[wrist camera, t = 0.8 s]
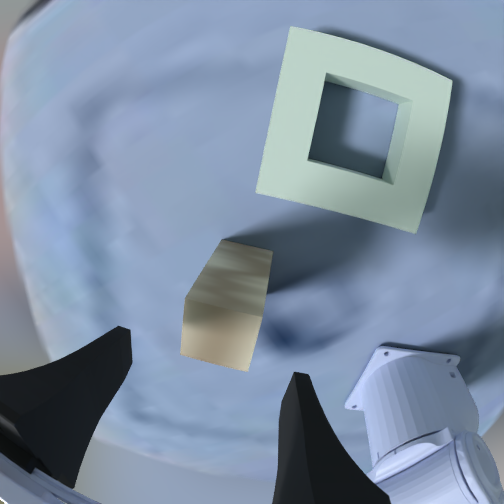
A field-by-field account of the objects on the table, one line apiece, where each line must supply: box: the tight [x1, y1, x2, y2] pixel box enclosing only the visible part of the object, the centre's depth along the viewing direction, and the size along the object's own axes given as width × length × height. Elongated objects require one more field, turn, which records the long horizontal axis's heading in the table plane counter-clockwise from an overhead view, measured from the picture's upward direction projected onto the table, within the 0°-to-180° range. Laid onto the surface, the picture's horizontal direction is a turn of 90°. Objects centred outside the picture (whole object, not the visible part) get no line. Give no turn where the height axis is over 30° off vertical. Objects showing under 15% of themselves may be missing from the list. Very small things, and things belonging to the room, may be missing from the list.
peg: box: [180, 240, 273, 372], centre depth 18 cm, size 4×4×8 cm
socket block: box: [255, 26, 452, 234], centre depth 16 cm, size 10×10×2 cm
